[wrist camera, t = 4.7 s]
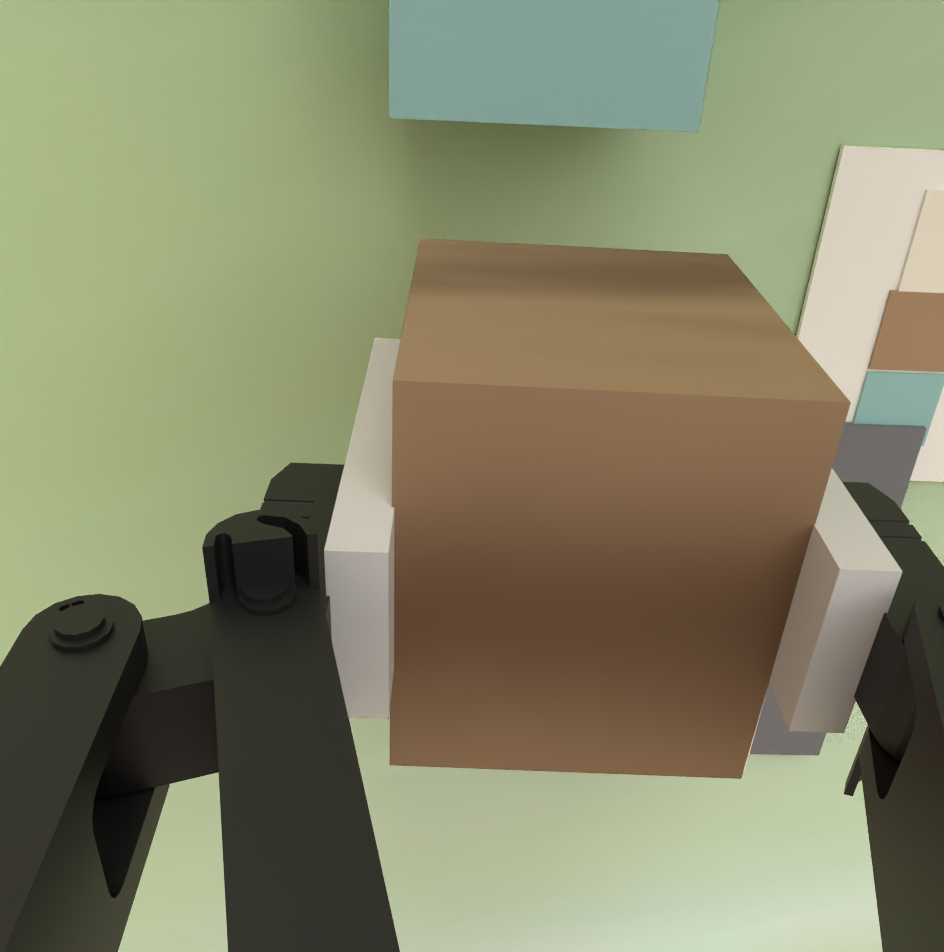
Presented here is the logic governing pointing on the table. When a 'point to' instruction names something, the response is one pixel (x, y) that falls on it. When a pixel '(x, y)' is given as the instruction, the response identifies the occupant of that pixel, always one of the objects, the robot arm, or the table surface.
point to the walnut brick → (596, 507)
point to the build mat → (889, 470)
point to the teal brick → (552, 61)
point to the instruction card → (883, 293)
